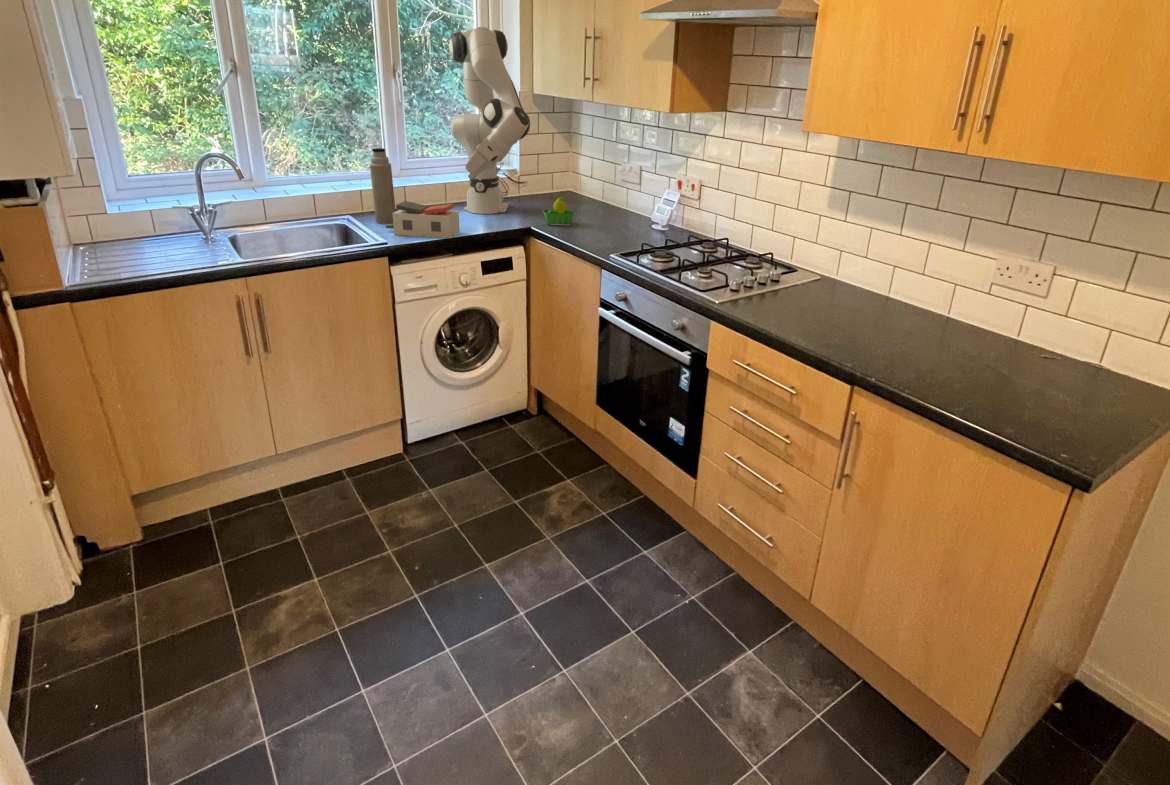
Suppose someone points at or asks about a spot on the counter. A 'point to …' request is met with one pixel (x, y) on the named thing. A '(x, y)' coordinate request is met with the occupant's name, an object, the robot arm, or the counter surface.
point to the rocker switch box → (425, 224)
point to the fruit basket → (558, 213)
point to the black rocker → (411, 207)
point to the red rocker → (438, 209)
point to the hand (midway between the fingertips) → (470, 177)
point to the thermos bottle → (382, 187)
